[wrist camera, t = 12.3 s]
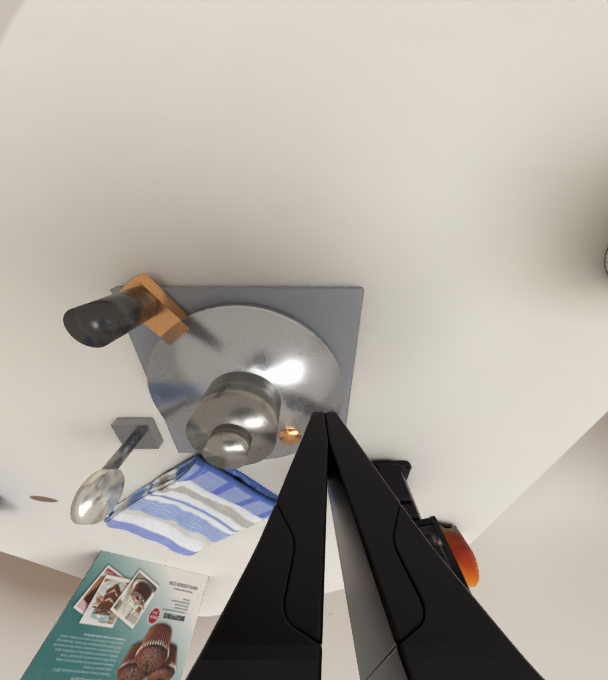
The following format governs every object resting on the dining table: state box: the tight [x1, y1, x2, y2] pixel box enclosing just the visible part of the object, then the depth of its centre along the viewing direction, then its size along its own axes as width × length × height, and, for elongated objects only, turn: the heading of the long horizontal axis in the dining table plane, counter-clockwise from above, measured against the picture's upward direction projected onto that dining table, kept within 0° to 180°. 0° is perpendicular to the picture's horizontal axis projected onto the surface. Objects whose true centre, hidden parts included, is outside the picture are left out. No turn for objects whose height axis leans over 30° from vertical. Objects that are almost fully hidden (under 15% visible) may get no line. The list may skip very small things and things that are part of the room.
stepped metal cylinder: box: [186, 371, 281, 469], centre depth 18 cm, size 7×7×6 cm
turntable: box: [63, 274, 344, 459], centre depth 18 cm, size 22×18×6 cm
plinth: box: [110, 287, 364, 453], centre depth 22 cm, size 20×20×1 cm
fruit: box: [434, 520, 479, 588], centre depth 34 cm, size 8×8×8 cm
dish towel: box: [104, 455, 278, 556], centre depth 33 cm, size 17×24×3 cm
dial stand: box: [71, 418, 163, 524], centre depth 21 cm, size 4×4×9 cm
